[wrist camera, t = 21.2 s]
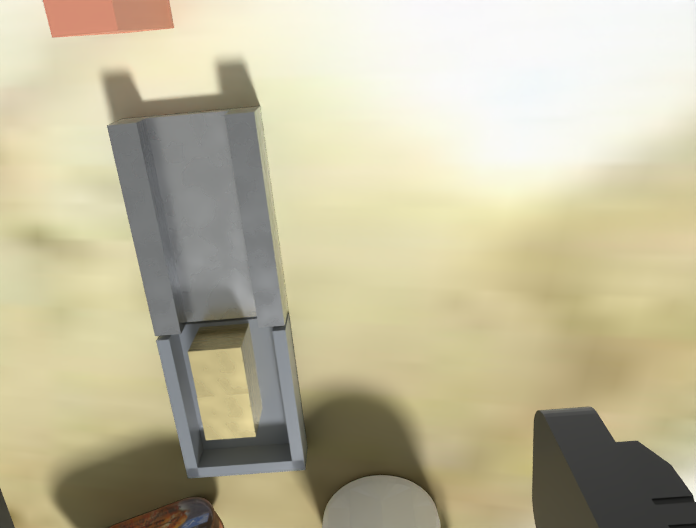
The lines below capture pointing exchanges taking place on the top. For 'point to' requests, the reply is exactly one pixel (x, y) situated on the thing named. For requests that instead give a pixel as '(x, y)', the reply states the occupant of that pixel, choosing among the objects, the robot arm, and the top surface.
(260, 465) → the tray
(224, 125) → the slot bed
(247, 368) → the tan cubic piece
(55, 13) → the pink rectangular block
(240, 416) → the khaki cube
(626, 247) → the top surface
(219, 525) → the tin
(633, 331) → the top surface
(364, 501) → the mug
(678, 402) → the top surface
